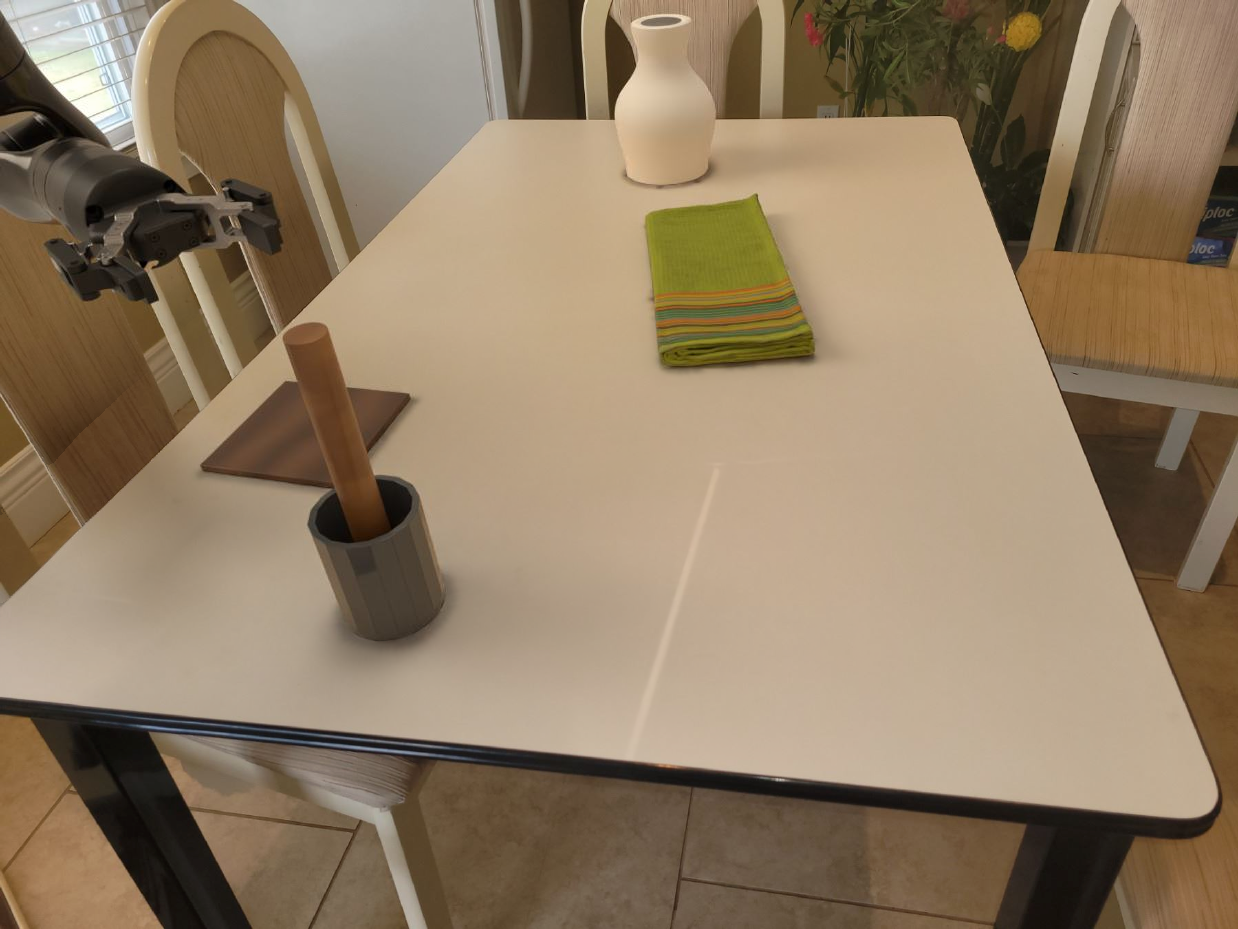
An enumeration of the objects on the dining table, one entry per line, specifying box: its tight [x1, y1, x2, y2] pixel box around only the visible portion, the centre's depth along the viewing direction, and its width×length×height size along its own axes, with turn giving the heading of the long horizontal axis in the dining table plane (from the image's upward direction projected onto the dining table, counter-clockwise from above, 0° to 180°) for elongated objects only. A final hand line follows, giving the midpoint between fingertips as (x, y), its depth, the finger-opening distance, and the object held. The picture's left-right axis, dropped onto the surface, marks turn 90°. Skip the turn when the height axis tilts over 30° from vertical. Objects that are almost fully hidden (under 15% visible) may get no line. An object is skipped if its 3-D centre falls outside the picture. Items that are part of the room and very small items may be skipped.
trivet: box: [199, 380, 411, 489], centre depth 83 cm, size 14×14×1 cm
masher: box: [282, 321, 391, 543], centre depth 58 cm, size 5×5×22 cm
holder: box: [306, 474, 446, 641], centre depth 63 cm, size 7×7×9 cm
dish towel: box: [644, 192, 816, 367], centre depth 100 cm, size 15×36×3 cm, turn 2°
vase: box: [614, 13, 717, 186], centre depth 124 cm, size 14×14×20 cm
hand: (213, 263), depth 57 cm, fingers open, 8 cm apart
